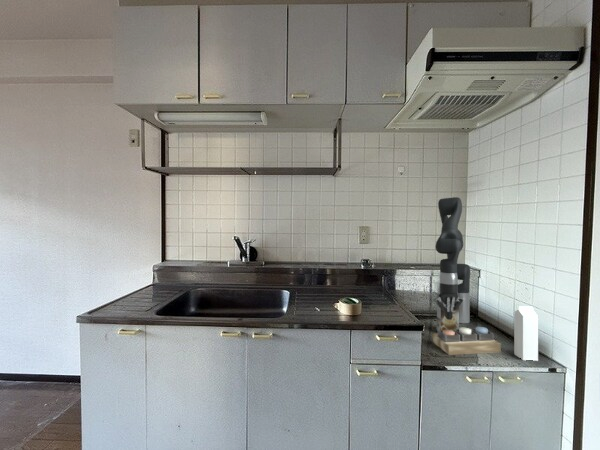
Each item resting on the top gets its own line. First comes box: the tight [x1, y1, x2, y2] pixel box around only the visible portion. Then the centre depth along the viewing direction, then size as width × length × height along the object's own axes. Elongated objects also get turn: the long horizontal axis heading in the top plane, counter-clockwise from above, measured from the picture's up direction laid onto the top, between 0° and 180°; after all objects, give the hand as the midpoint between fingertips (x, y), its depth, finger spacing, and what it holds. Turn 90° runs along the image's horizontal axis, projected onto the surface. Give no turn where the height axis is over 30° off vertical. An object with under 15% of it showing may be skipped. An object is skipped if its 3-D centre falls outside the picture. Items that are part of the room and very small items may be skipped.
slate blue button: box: [474, 326, 489, 334], centre depth 140 cm, size 5×5×2 cm
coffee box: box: [436, 300, 460, 332], centre depth 158 cm, size 9×6×16 cm
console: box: [432, 328, 502, 356], centre depth 140 cm, size 14×24×7 cm, turn 94°
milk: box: [513, 305, 539, 362], centre depth 128 cm, size 6×6×22 cm
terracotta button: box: [443, 330, 455, 335], centre depth 139 cm, size 5×5×2 cm
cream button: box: [459, 326, 472, 335], centre depth 139 cm, size 5×5×2 cm
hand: (448, 319), depth 139 cm, fingers closed
